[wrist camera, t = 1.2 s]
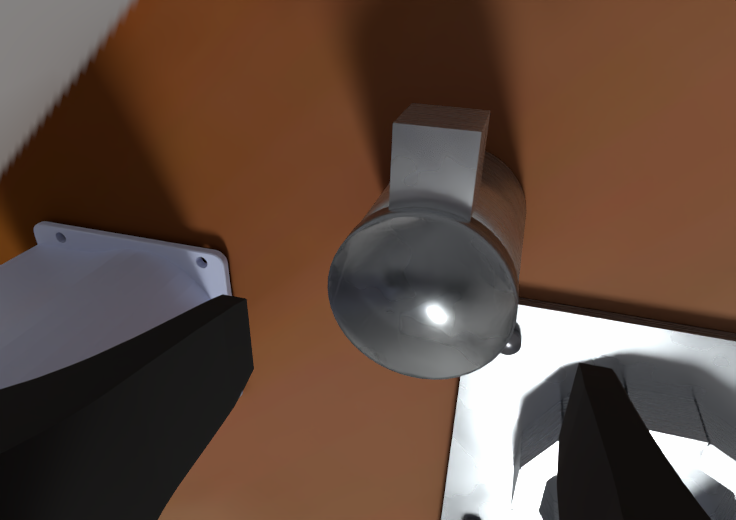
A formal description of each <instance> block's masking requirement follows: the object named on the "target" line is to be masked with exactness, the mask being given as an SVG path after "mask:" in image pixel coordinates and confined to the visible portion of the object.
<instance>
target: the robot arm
mask: <svg viewBox="0 0 736 520" xmlns="http://www.w3.org/2000/svg"><path fill="white" fill-rule="evenodd" d="M34 235H35V238H36V241H37V244H38V245H36V246H34V247H32V248H31V249H29V250H27V251H25V252H24V253H22V254H20V255H18V256H16V257H15V258H13V259H11V260H9V261H7V262H6V263H4V264H2V265H0V520H158V518H159V516H160V515H161V513H162V511H163V509H164V508H165V506H166V504H167V503H168V501H169V500H170V498H171V496H172V495H173V493H174V492H175V490H176V489H177V487H178V486H179V484H180V483H181V482H182V480H183V479H184V477H185V476H186V475H187V473H188V472H189V470H190V469H191V467H192V466H193V465H194V463H195V462H196V460H197V459H198V458H199V456H200V455H201V453H202V452H203V451H204V449H205V448H206V446H207V445H208V444H209V442H210V441H211V439H212V438H213V437H214V435H215V434H216V432H217V431H218V429H219V428H220V427H221V425H222V424H223V422H224V421H225V419H226V418H227V416H228V415H229V414H230V412H231V411H232V409H233V408H234V406H235V404H236V402H237V401H238V399H239V398H240V396H241V395H242V393H243V390H244V388H245V386H246V384H247V381H248V379H249V377H250V375H251V373H252V371H253V369H254V366H253V356H252V347H251V337H250V328H249V318H248V309H247V300H246V299H245V298H239V297H234V296H232V294H231V286H230V277H229V269H228V262H227V259H226V257H225V256H224V254H223V253H221V252H220V251H217V250H214V249H208V248H202V247H196V246H190V245H184V244H178V243H172V242H166V241H160V240H154V239H148V238H142V237H136V236H130V235H124V234H118V233H113V232H107V231H101V230H95V229H89V228H83V227H77V226H71V225H65V224H59V223H53V222H47V221H42V222H40V223H38V224H36V225H35V226H34ZM201 257H202V258H204V259H205V260H206V261H207V263H205V262H204V261H203V260H202V258H201ZM557 498H558V511H559V520H711V518H710V517H709V516H708V514H707V513H706V512H705V511H704V509H703V508H702V507H701V505H700V504H699V503H698V501H697V500H696V499H695V497H694V496H693V494H692V493H691V492H690V490H689V489H688V488H687V486H686V485H685V484H684V482H683V481H682V479H681V478H680V477H679V475H678V474H677V472H676V471H675V469H674V468H673V467H672V465H671V464H670V462H669V461H668V459H667V458H666V456H665V454H664V453H663V451H662V450H661V448H660V447H659V445H658V444H657V442H656V441H655V439H654V438H653V436H652V435H651V433H650V431H649V430H648V428H647V427H646V425H645V423H644V422H643V420H642V418H641V417H640V415H639V413H638V412H637V410H636V408H635V407H634V405H633V403H632V401H631V400H630V398H629V396H628V394H627V393H626V391H625V389H624V387H623V385H622V384H621V382H620V380H619V378H618V376H617V375H616V373H615V372H614V371H613V369H612V368H606V367H601V366H596V365H591V364H585V363H580V362H579V364H578V367H577V371H576V375H575V378H574V382H573V386H572V390H571V393H570V397H569V401H568V404H567V408H566V412H565V415H564V419H563V423H562V426H561V430H560V434H559V440H558V461H557Z"/></svg>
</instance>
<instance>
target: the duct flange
mask: <svg viewBox="0 0 736 520" xmlns="http://www.w3.org/2000/svg"><path fill="white" fill-rule="evenodd" d="M579 362H580V363H585V364H591V365H596V366H601V367H606V368H612V369H613V371H614V372H615V373H616V375H617V376H618V378H619V380H620V382H621V384H622V385H623V387H624V389H625V391H626V393H627V394H628V396H629V398H630V400H631V401H632V403H633V405H634V407H635V408H636V410H637V412H638V413H639V415H640V417H641V418H642V420H643V422H644V423H645V425H646V427H647V428H648V430H649V431H650V433H651V435H652V436H653V438H654V439H655V441H656V442H657V444H658V445H659V447H660V448H661V450H662V451H663V453H664V454H665V456H666V458H667V459H668V461H669V462H670V464H671V465H672V467H673V468H674V469H675V471H676V472H677V474H678V475H679V477H680V478H681V479H682V481H683V482H684V484H685V485H686V486H687V488H688V489H689V490H690V492H691V493H692V494H693V496H694V497H695V499H696V500H697V501H698V503H699V504H700V505H701V507H702V508H703V509H704V511H705V512H706V513H707V514H708V516H709V517H710V518H711V520H736V333H731V332H725V331H719V330H713V329H707V328H701V327H695V326H689V325H683V324H677V323H671V322H665V321H659V320H653V319H647V318H641V317H635V316H629V315H623V314H617V313H611V312H605V311H599V310H593V309H587V308H581V307H575V306H569V305H563V304H557V303H551V302H545V301H539V300H533V299H527V298H521V297H519V302H518V311H517V320H516V325H515V328H514V332H513V334H512V336H511V338H510V340H509V342H508V344H507V345H506V347H505V348H504V349H503V351H502V352H501V353H500V354H499V355H498V356H497V357H496V358H495V359H494V360H492V361H491V362H490V363H489V364H487V365H486V366H484V367H482V368H481V369H479V370H477V371H474V372H472V373H470V374H467V375H463V376H461V377H460V385H459V392H458V399H457V406H456V414H455V421H454V428H453V436H452V443H451V450H450V458H449V465H448V472H447V480H446V487H445V494H444V501H443V509H442V516H441V520H559V511H558V498H557V461H558V440H559V434H560V430H561V426H562V423H563V419H564V415H565V412H566V408H567V404H568V401H569V397H570V393H571V390H572V386H573V382H574V378H575V375H576V371H577V367H578V364H579Z"/></svg>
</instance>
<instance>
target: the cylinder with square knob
mask: <svg viewBox="0 0 736 520" xmlns="http://www.w3.org/2000/svg"><path fill="white" fill-rule="evenodd" d="M490 111H491V110H480V109H470V108H459V107H449V106H438V105H427V104H417V103H412V104H411V105H410V106H409V107H408V108H407V109H406V110H405V111H404V112H403V113H402V114H401V115H400V116H399V117H398V118H397V119H396V120H395V121H394V122H393V131H392V153H391V174H390V183H389V184H388V186H387V187H386V188H385V190H384V191H383V192H382V194H381V195H380V196H379V198H378V199H377V201H376V202H375V203H374V205H373V206H372V207H371V209H370V210H369V211H368V213H367V214H366V216H365V217H364V218H363V220H362V221H361V222H360V223H359V224H358V225H357V226H356V227H355V228H354V229H353V231H352V232H351V233H350V234H349V236H348V237H347V238H346V240H345V241H344V242H343V244H342V245H341V246H340V248H339V249H338V251H337V253H336V255H335V256H334V259H333V261H332V264H331V266H330V271H329V276H328V296H329V301H330V305H331V309H332V311H333V314H334V317H335V319H336V321H337V323H338V325H339V327H340V328H341V329H342V331H343V332H344V334H345V335H346V337H347V338H348V339H349V340H350V341H351V342H352V344H353V345H354V346H355V347H356V348H358V349H359V350H360V351H361V352H362V353H363V354H365V355H366V356H367V357H368V358H370V359H371V360H373V361H375V362H376V363H378V364H379V365H381V366H383V367H385V368H387V369H389V370H392V371H394V372H397V373H400V374H403V375H407V376H411V377H416V378H422V379H449V378H455V377H460V376H463V375H467V374H470V373H472V372H474V371H477V370H479V369H481V368H482V367H484V366H486V365H487V364H489V363H490V362H491V361H492V360H494V359H495V358H496V357H497V356H498V355H499V354H500V353H501V352H502V351H503V349H504V348H505V347H506V345H507V344H508V342H509V340H510V338H511V336H512V334H513V332H514V328H515V325H516V320H517V311H518V302H519V274H520V265H521V256H522V247H523V237H524V228H525V219H526V202H525V197H524V193H523V190H522V187H521V185H520V183H519V181H518V179H517V178H516V176H515V175H514V173H513V172H512V171H511V170H510V169H509V167H508V166H507V165H506V164H505V163H504V162H502V161H501V160H500V159H499V158H497V157H496V156H494V155H493V154H491V153H489V152H487V151H485V148H486V141H487V133H488V126H489V118H490Z"/></svg>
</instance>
